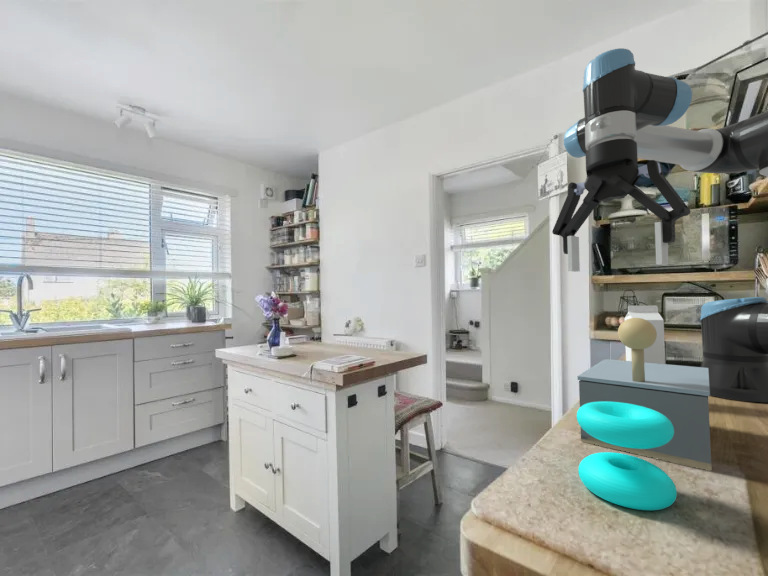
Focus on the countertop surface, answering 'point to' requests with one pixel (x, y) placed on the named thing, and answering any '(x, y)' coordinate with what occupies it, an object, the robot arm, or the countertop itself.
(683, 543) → the countertop surface
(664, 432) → the donuts
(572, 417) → the countertop surface
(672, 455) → the carton
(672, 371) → the flap
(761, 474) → the countertop surface
